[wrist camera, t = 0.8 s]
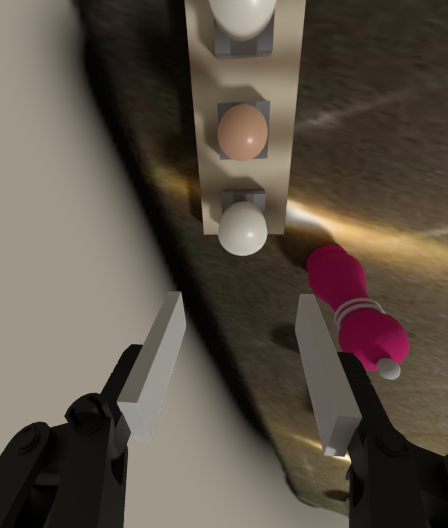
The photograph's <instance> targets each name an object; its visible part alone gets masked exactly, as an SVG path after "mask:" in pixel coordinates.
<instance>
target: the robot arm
mask: <svg viewBox="0 0 448 528" xmlns="http://www.w3.org/2000/svg"><path fill="white" fill-rule="evenodd" d="M185 329H186V321H185V314H184V308H183V301H182V296H181V292H168V294H167V296H166V298H165V300H164V303H163V304H162V307H161V308H160V311H159V313H158V315H157V317H156V319H155V321H154V323H153V325H152V328H151V330H150V332H149V334H148V336H147V338H146V341H145V342H144V345H138V344H131V345H130V346H129V347H128V348H127V349H126V350H125V351H124V352H123V353H122V355H121V357H120V359H119V361H118V364H116V366H115V368H114V370H113V372H112V373H111V375H110V377H109V379H108V381H107V383H106V385H105V386H104V388H103V390H102V392H101V394H98V393H89V394H86V395H84V396H81V397H80V398H79V399H77V400H76V401H75V402H73V404H72V405H71V406H70V407H69V408H68V410H67V412H66V414H65V418H66V419H67V421H68V423H65V424H62V425H58V426H54V427H51V428H50V427H49V426H48V425H47V423H45V422H36V423H32V424H30V425H28V426H26V427H24V428H23V429H22V430H21V431H19V432H18V433H17V434H16V435H15V436H14V437H13V438H12V439H11V441H10V442H9V443H8V445H7V446H6V448H5V449H4V451H3V452H2V454H1V455H0V528H123V524H124V508H125V492H126V477H127V476H126V475H127V461H128V447H127V442H128V439H129V437H130V434H131V435H132V437H133V440H138V441H139V440H140V441H152V438H153V435H154V431H155V428H156V425H157V421H158V418H159V415H160V411H161V408H162V405H163V402H164V398H165V395H166V392H167V388H168V385H169V382H170V378H171V375H172V372H173V369H174V365H175V362H176V359H177V355H178V352H179V349H180V345H181V342H182V339H183V335H184V332H185ZM295 333H296V337H297V341H298V346H299V350H300V354H301V359H302V363H303V367H304V371H305V376H306V380H307V384H308V389H309V393H310V397H311V402H312V406H313V410H314V415H315V419H316V423H317V427H318V432H319V436H320V440H321V445H322V449H323V453H324V455H330V456H342V457H345V454H346V452H347V450H348V452H349V456H350V459H351V462H352V463H351V465H350V467H349V469H348V471H347V474H346V478H345V479H346V480H348V481H349V479H350V491H349V528H448V454H447V455H446V456H445V457H444V456H442V455H439V454H436V453H434V452H431V451H429V450H426V449H423V448H421V447H418V446H416V445H414V444H412V443H411V442H409V441H408V440H406V438H405V437H404V436H403V435H402V434H401V433H400V432H398V431H397V430H396V429H395V428H394V427H393V425H392V424H391V422H390V420H389V418H388V416H387V414H386V412H385V410H384V408H383V406H382V404H381V402H380V400H379V398H378V396H377V393H376V391H375V389H374V387H373V385H372V384H371V381H370V379H369V377H368V376H367V373H366V371H365V369H364V366H363V364H362V362H361V361H360V360H359V359H358V358H357V357H356V356H355V355H354V354H353V353H348V352H336V349H335V347H334V344H333V342H332V339H331V337H330V334H329V332H328V329H327V326H326V324H325V321H324V319H323V316H322V314H321V311H320V309H319V306H318V304H317V301H316V299H315V296H314V294H300V298H299V305H298V311H297V318H296V325H295Z"/></svg>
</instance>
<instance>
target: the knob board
mask: <svg viewBox="0 0 448 528" xmlns="http://www.w3.org/2000/svg"><path fill="white" fill-rule="evenodd" d="M305 2H306V0H277V1H276V6H275V9H274V13H273V15H272V18H271V20H270V22H269V23H268V25H267V26H266V28H265V29H264V30H263V31H262V32H261V33H260V34H259V35H258V36H256V37H255V38H253V39H251V40H248V41H236V40H233V39H231V38H229V37H227V36H226V35H225V34H224V33H223V32H222V31H221V30H220V28H219V27H218V25H217V23H216V21H215V19H214V16H213V13H212V10H211V7H210V3H209V0H185V11H186V23H187V35H188V47H189V59H190V71H191V83H192V95H193V107H194V119H195V131H196V143H197V155H198V166H199V178H200V190H201V202H202V214H203V226H204V234H218V229H219V225H220V221H221V218H222V215H223V213H224V211H225V210H226V209H227V208H228V207H229V206H230V205H232V204H234V203H237V202H250V203H253V204H255V205H256V206H258V207H259V208H260V209H261V211H262V212H263V214H264V217H265V222H266V227H267V234H284V226H285V216H286V205H287V194H288V184H289V173H290V162H291V152H292V141H293V130H294V120H295V109H296V98H297V88H298V77H299V66H300V56H301V45H302V34H303V24H304V13H305ZM241 104H246V105H251V106H253V107H255V108H256V109H258V110H259V111H260V112H261V113H262V115H263V116H264V118H265V120H266V123H267V128H268V135H267V141H266V144H265V146H264V148H263V149H262V151H261V152H260V153H259V154H258V155H257V156H256V157H254V158H253V159H250V160H247V161H236V160H233V159H231V158H229V157H228V156H227V155H226V154H225V153H224V152H223V151H222V149H221V147H220V145H219V142H218V135H217V134H218V126H219V123H220V120H221V118H222V117H223V115H224V114H225V113H226V112H227V111H228V110H229V109H230V108H232V107H234V106H236V105H241Z"/></svg>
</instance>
